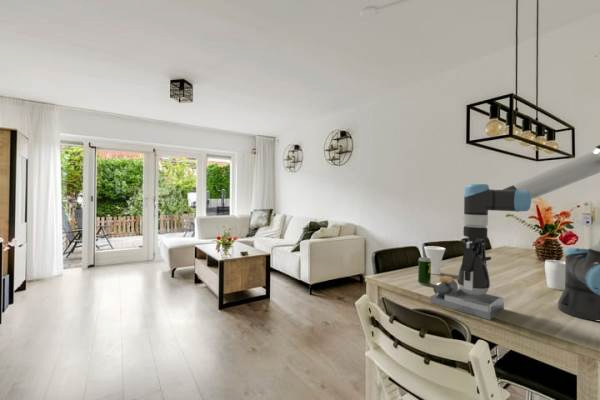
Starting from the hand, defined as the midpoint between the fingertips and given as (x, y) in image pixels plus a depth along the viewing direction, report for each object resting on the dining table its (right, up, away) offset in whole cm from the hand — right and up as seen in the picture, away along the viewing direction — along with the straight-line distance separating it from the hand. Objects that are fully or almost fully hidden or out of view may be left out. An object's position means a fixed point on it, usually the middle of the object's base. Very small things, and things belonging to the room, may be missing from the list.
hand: (473, 286), depth 106 cm
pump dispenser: (0, -3, 0) cm, 3 cm away
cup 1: (+8, -7, +48) cm, 49 cm away
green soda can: (-6, -8, +29) cm, 30 cm away
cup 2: (+53, -8, +25) cm, 59 cm away
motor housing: (-2, -8, +2) cm, 8 cm away
